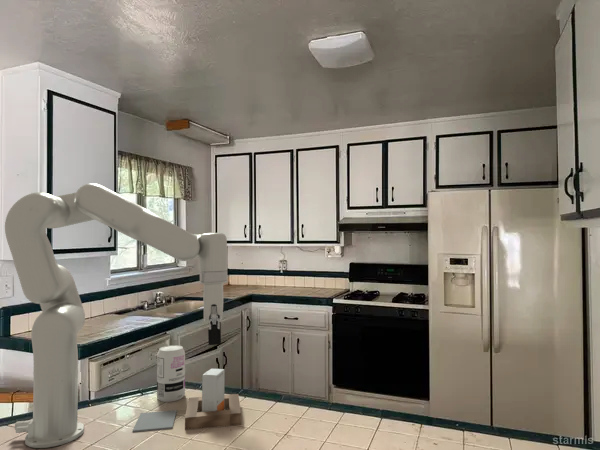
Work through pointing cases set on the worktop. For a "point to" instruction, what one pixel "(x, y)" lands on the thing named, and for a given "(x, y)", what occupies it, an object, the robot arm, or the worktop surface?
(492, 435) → the worktop surface
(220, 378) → the skincare box
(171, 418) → the rubber mat
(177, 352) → the supplement can
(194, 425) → the holder block
